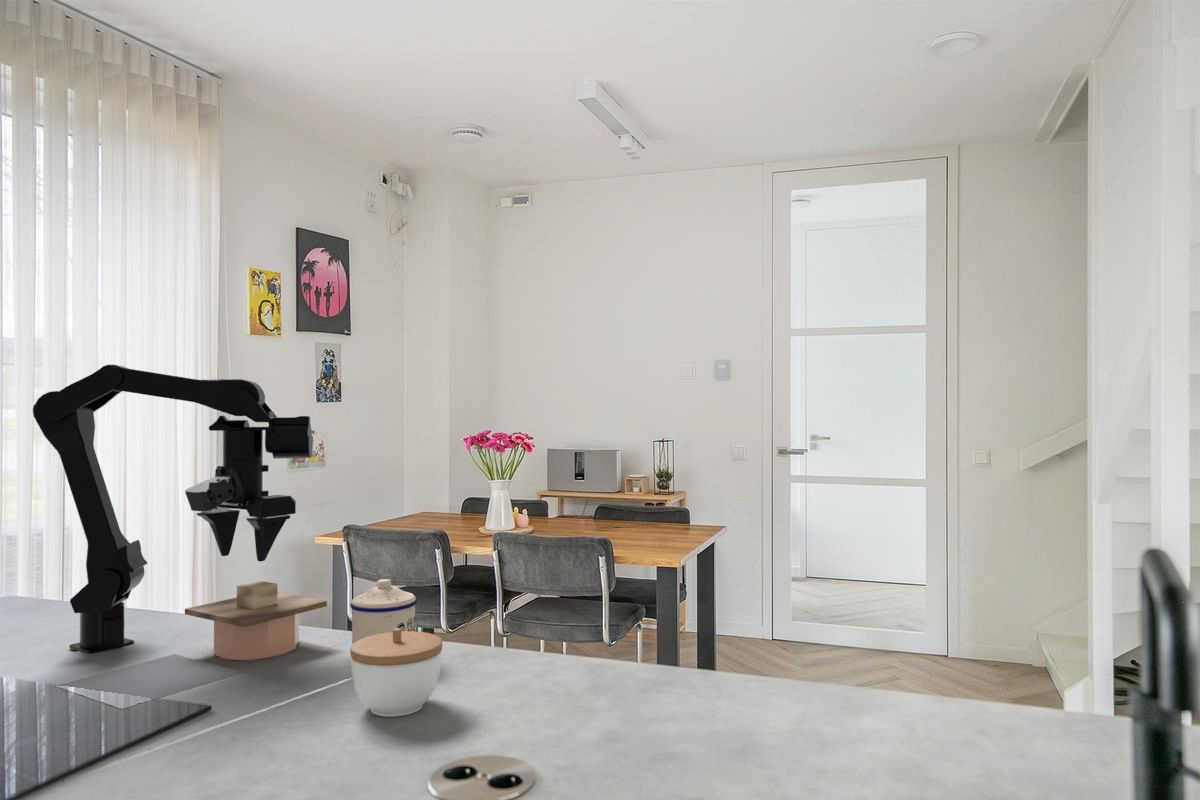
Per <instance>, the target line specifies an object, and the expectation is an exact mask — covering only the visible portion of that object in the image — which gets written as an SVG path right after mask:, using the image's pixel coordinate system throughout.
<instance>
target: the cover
mask: <svg viewBox="0 0 1200 800" xmlns="http://www.w3.org/2000/svg"><path fill="white" fill-rule="evenodd" d="M327 606H328V601H327V600H324V599H323V600H322V599H319V598H313V597H306V596H300V595H295V594H291V593H284V592H278V583H275V582H269V581H264V580H258V581H254V582H249V583H244V584H243V583H242V584H239V585H236V597H232V598H228V599H224V600H219V601H213V602H209V603H206V604H201V605H196V606H191V607H187V608H184V615H187V616H189V617H191V616H192V617H195V618H201V619H205V620H210V621H213V622H214V621H218V622H222V623H227V624H231V625H236V626H240V627H247V626H251V625H255V624H259V623H263V622H267V621H271V620H275V619H279V618H283V617H287V616H291V615H295V614H299V615H300V614H302V613H306V612H310V611H314V610H318V609H322V608H325V607H327Z"/></svg>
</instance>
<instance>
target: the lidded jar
mask: <svg viewBox="0 0 1200 800" xmlns="http://www.w3.org/2000/svg"><path fill="white" fill-rule="evenodd" d="M349 649H350V650H349V652H350V657H351V658H350V660H351V661H350V663H351V666H350V667H351V676H352V683H353V686H354V689H355V693H356V695H357V696H358V698H359V700H360V701H361V702H362V703H363V705H365V706H366V707H367V708H369V709H370V712H371V714H372V715H375V716H379V717H386V718H395V717H396V718H397V717H405V716H410V715H411V714H416V713H418V712H419V711H421V709H422V708H423V706H424V704H425V703H426V702H427V701H428V700H429V698H431V696H432V695H433V693H434V691H435V690H436V688H437V685H438V683H439V679H440V674H441V667H442V650H443V640H442V638H441V637H439V636H438V635H437V634H434V633H429V632H425V631H424V632H422V631H416V630H415V631H401V629H400V628H395V629H393V632H388V633H381V634H376V635H372V636H368V637H365V638H362V639H360V640H358V641H356V642H354V643H353V644H352V643H351V646H350V648H349Z"/></svg>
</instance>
